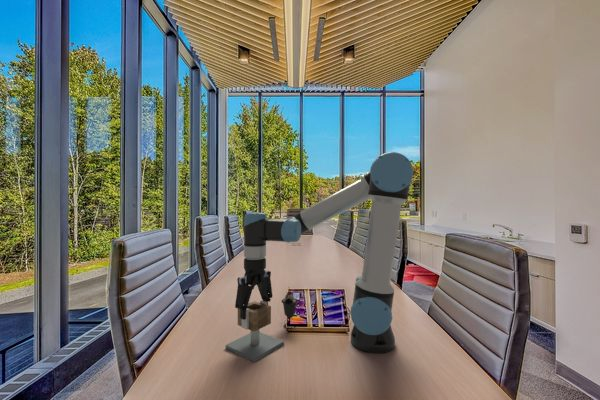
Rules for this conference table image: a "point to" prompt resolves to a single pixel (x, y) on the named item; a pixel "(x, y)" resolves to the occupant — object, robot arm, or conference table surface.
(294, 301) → the sundae
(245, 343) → the post stand
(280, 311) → the conference table surface
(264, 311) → the collar
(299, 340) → the conference table surface
